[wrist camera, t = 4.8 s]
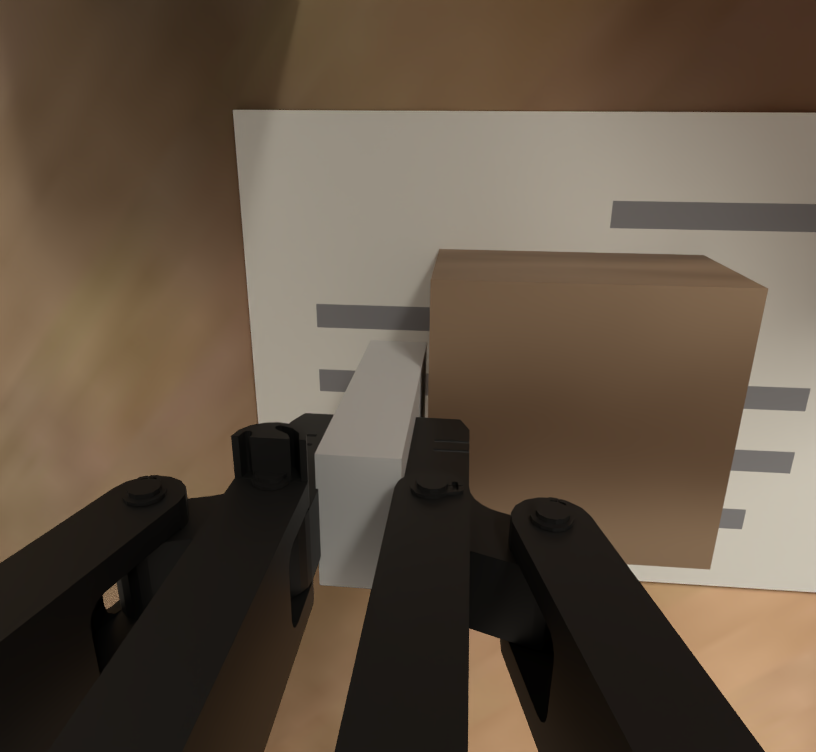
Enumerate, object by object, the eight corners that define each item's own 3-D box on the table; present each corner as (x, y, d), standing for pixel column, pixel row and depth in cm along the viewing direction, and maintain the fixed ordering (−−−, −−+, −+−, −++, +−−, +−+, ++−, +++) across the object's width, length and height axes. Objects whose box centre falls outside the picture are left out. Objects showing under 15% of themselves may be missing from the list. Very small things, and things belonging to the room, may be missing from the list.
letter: (235, 110, 17) (232, 109, 17) (960, 113, 16) (966, 113, 15) (270, 553, 22) (269, 557, 22) (824, 588, 20) (828, 593, 20)
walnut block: (439, 249, 18) (430, 279, 14) (703, 255, 17) (767, 288, 13) (433, 474, 20) (425, 551, 16) (664, 486, 20) (710, 569, 16)
